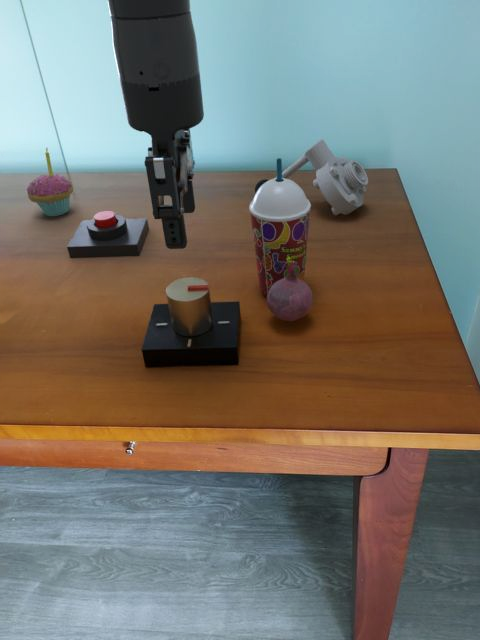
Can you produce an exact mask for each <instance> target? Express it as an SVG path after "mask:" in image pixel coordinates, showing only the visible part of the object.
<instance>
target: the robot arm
mask: <svg viewBox="0 0 480 640" xmlns="http://www.w3.org/2000/svg"><path fill="white" fill-rule="evenodd" d="M107 5H108V9H109V10H108V11H109V16H110V23H111V36H112V38H111V39H112V48H113V53H114V59H115V64H116V69H117V73H118V79H119V85H120V91H121V95H122V101H123V106H124V112H125V117H126V122H127V124H128V125H129V127H130V128H132V129H133V130H135V131H138V132H141V133H142V132H144V133H146V134H148V135H149V136H150V138H151V146H148V147H147V156H145V157H144V167H145V170H146V176H147V182H148V189H149V194H150V200H151V201H150V202H151V207H152V216H153V218H154V220H161V225H162V231H163V237H164V243H165V246H166V248H167V249H169V250H183V249H186V248H187V244H188V237H187V230H186V229H187V228H186V223H185V216H184V214H193V213H194V212H195V211H196V202H195V192H194V185H193V179H194V177H195V172H194V168H195V165H196V160H194V159H195V157H194V152H193V142H192V137H191V129H192V128H194V127H196V126H198V125H199V124H201V123H202V121H203V120H204V117H205V112H204V102H203V93H202V82H201V71H200V62H199V52H198V44H197V36H196V32H195V31H196V30H195V27H194V22H193V19H192V12H191V0H107ZM165 196H166V197H170V199H171V203H169V204H165Z"/></svg>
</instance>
